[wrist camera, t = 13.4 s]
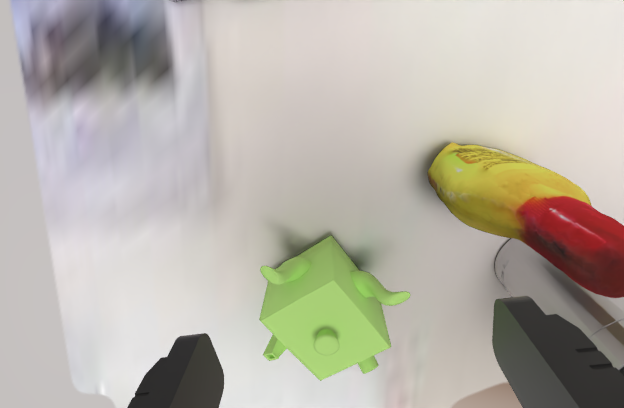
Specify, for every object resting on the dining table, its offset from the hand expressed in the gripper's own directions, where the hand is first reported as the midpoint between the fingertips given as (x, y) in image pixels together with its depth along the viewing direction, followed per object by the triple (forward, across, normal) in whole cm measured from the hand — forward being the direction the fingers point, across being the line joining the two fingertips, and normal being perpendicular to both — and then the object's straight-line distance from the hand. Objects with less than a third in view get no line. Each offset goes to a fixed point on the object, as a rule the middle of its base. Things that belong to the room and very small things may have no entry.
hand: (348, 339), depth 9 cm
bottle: (+28, -15, +7) cm, 33 cm away
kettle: (+28, +3, +18) cm, 34 cm away
